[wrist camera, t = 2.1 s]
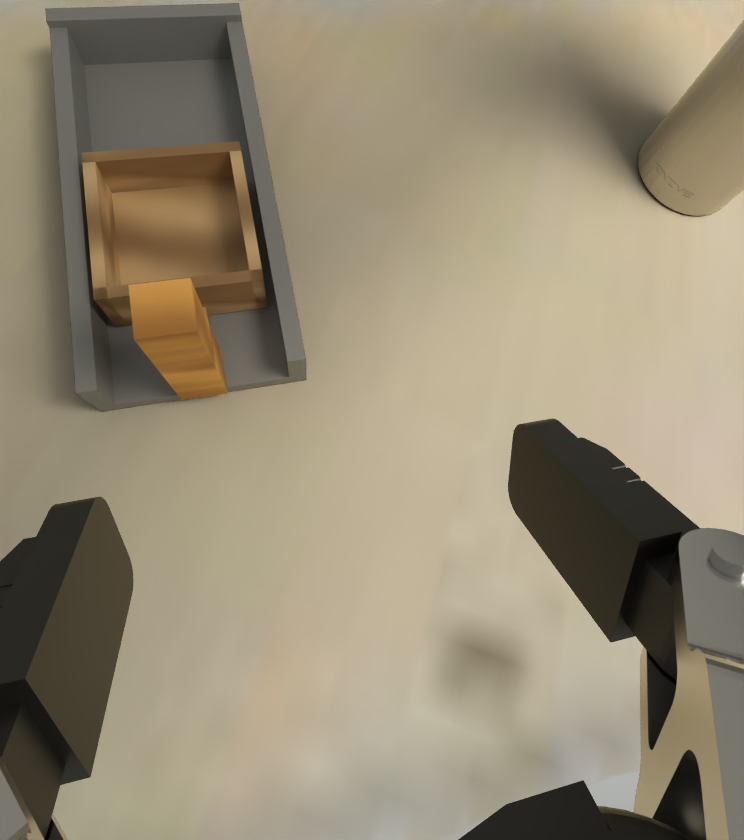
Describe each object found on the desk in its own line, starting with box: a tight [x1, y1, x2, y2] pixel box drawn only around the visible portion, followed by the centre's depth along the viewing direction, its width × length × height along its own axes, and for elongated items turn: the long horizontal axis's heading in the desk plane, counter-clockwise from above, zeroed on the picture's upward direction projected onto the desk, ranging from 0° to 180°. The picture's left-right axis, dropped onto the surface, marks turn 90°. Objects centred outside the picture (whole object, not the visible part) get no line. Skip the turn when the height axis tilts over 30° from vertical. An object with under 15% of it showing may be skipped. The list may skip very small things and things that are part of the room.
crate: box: [82, 141, 268, 400], centre depth 32 cm, size 17×10×10 cm, turn 12°
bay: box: [45, 3, 306, 412], centre depth 37 cm, size 30×14×4 cm, turn 12°
